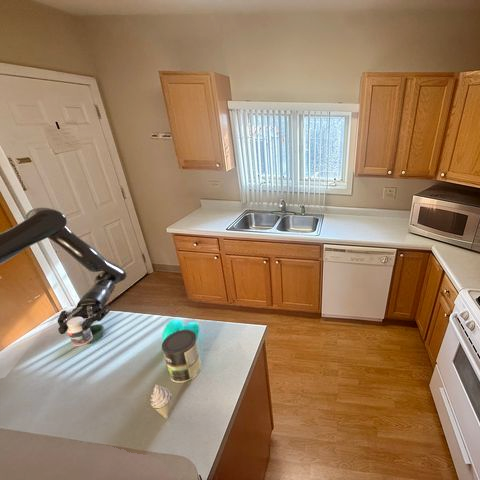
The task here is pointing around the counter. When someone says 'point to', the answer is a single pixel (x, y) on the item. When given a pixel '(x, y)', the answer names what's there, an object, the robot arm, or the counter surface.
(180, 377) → the coffee can
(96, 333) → the tin
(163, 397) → the ice cream cone
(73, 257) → the robot arm
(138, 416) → the counter surface
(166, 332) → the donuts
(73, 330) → the pill bottle
